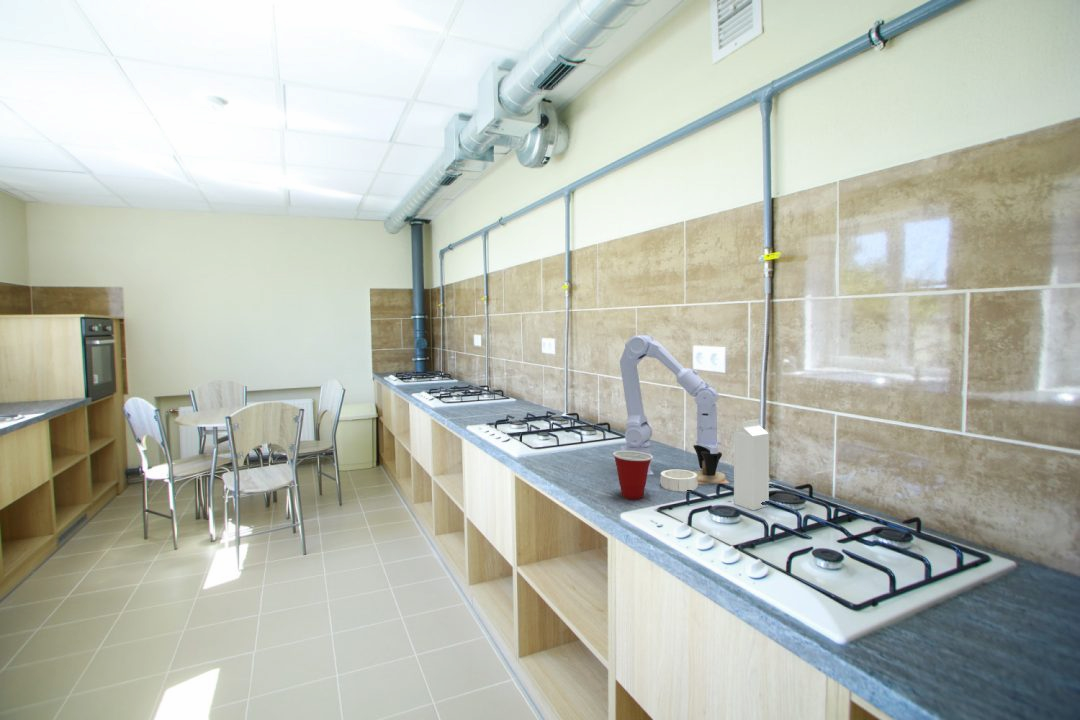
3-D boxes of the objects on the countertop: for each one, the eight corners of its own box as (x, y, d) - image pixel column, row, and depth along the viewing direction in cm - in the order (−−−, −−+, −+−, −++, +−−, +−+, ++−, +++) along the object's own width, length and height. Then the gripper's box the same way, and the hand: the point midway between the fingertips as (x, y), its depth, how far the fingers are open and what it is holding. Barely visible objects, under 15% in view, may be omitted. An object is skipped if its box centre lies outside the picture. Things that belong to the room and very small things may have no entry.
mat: (694, 485, 149) (694, 483, 149) (686, 475, 159) (686, 473, 158) (729, 485, 148) (729, 483, 148) (719, 475, 158) (719, 473, 158)
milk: (733, 504, 132) (732, 419, 131) (749, 499, 135) (748, 417, 134) (753, 510, 127) (752, 423, 126) (769, 506, 130) (768, 420, 129)
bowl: (665, 493, 142) (664, 479, 142) (658, 482, 152) (658, 469, 152) (701, 493, 142) (701, 478, 141) (692, 482, 152) (692, 469, 151)
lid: (694, 483, 149) (694, 465, 148) (686, 473, 159) (686, 457, 158) (729, 483, 148) (729, 465, 148) (719, 473, 158) (719, 456, 158)
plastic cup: (660, 500, 137) (660, 456, 136) (623, 504, 134) (623, 459, 133) (642, 488, 147) (641, 447, 146) (607, 492, 144) (606, 450, 144)
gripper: (728, 431, 145) (728, 478, 146) (713, 422, 159) (713, 465, 160) (703, 432, 145) (703, 479, 146) (690, 423, 160) (691, 465, 161)
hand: (707, 472), depth 153 cm, fingers open, 7 cm apart
